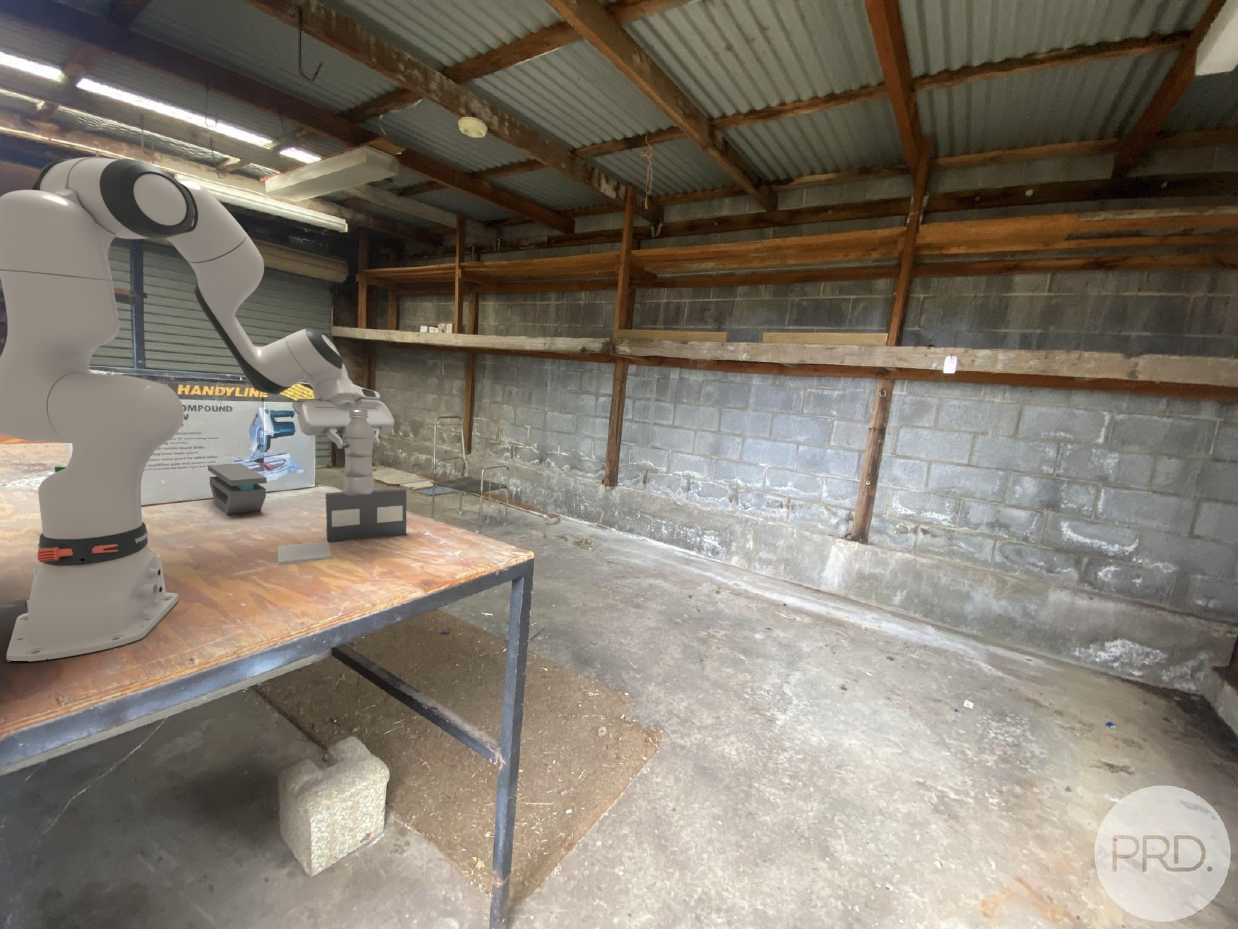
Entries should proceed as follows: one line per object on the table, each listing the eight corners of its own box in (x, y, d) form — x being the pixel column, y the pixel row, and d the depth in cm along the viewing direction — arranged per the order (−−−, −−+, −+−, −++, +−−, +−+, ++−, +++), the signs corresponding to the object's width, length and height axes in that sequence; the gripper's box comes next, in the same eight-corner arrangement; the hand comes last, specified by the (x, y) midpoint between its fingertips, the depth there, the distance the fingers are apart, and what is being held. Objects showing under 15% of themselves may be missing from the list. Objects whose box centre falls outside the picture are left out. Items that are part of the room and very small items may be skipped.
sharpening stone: (210, 501, 148) (207, 465, 147) (242, 497, 154) (240, 463, 153) (233, 520, 133) (231, 480, 131) (268, 515, 139) (266, 477, 137)
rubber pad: (332, 558, 112) (332, 555, 112) (278, 564, 106) (278, 562, 106) (327, 543, 121) (327, 541, 121) (277, 548, 115) (277, 546, 115)
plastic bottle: (343, 493, 117) (342, 408, 114) (375, 492, 120) (375, 409, 117) (340, 499, 112) (339, 410, 109) (374, 498, 114) (374, 411, 111)
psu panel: (406, 534, 131) (406, 490, 129) (327, 543, 121) (326, 495, 119) (404, 532, 133) (404, 488, 131) (326, 540, 123) (325, 492, 121)
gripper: (293, 389, 108) (315, 439, 104) (384, 392, 124) (406, 435, 120) (285, 408, 111) (306, 457, 107) (375, 408, 128) (396, 451, 124)
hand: (360, 446), depth 114 cm, fingers closed on plastic bottle, 6 cm apart
